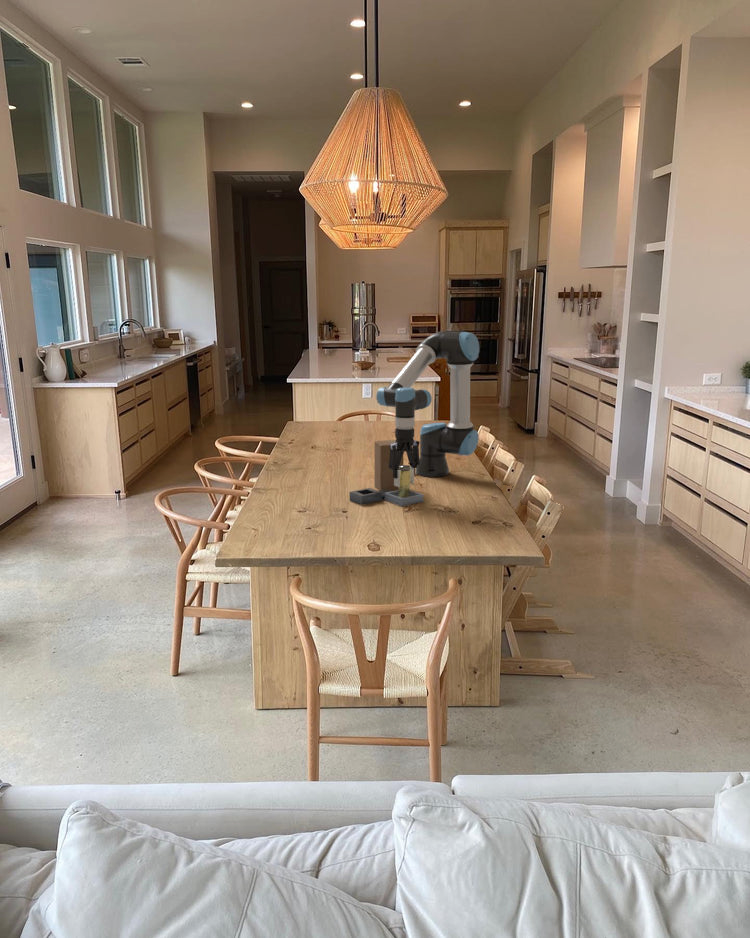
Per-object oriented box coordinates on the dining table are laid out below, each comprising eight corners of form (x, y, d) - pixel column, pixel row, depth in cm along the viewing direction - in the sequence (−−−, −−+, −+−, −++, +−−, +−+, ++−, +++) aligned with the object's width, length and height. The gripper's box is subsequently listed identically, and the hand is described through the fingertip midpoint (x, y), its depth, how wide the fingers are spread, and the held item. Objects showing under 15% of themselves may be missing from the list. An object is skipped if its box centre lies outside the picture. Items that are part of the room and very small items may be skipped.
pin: (404, 496, 297) (405, 464, 293) (411, 499, 293) (412, 466, 290) (396, 498, 294) (396, 465, 291) (403, 501, 291) (403, 468, 287)
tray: (405, 495, 301) (405, 488, 300) (423, 501, 293) (423, 494, 292) (384, 500, 295) (384, 493, 294) (402, 506, 286) (402, 499, 285)
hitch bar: (384, 493, 305) (384, 484, 304) (397, 497, 298) (397, 489, 298) (349, 500, 294) (349, 491, 293) (361, 505, 288) (361, 496, 287)
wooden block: (380, 492, 306) (380, 445, 301) (374, 486, 315) (374, 440, 311) (403, 490, 309) (404, 444, 304) (396, 484, 318) (396, 439, 313)
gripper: (417, 423, 295) (416, 479, 301) (379, 428, 284) (378, 486, 289) (429, 426, 290) (428, 482, 295) (391, 431, 278) (390, 490, 283)
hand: (404, 484), depth 292 cm, fingers open, 7 cm apart
